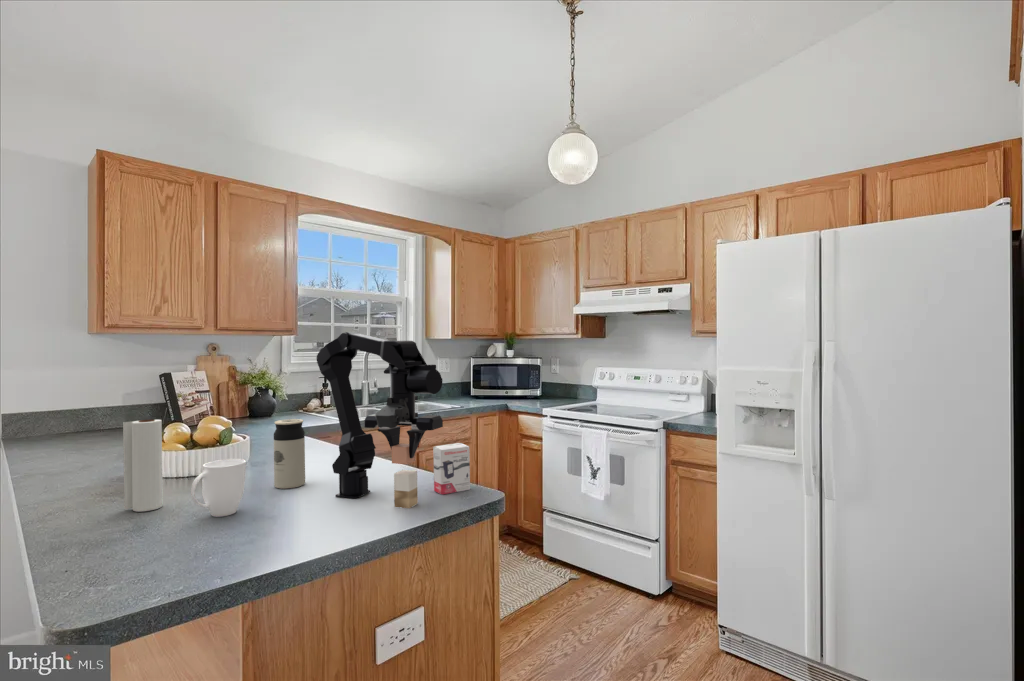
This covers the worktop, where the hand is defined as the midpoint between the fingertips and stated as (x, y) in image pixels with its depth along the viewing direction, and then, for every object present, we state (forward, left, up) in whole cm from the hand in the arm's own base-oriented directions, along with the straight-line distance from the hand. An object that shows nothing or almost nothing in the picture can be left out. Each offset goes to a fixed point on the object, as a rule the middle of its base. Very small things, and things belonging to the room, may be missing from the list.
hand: (403, 457), depth 128 cm
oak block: (0, +1, -12) cm, 12 cm away
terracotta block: (0, 0, -1) cm, 1 cm away
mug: (-38, -18, -12) cm, 44 cm away
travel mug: (-41, +8, -12) cm, 43 cm away
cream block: (0, +1, -8) cm, 8 cm away
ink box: (+5, +16, -12) cm, 20 cm away
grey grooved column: (-60, -19, -12) cm, 64 cm away
